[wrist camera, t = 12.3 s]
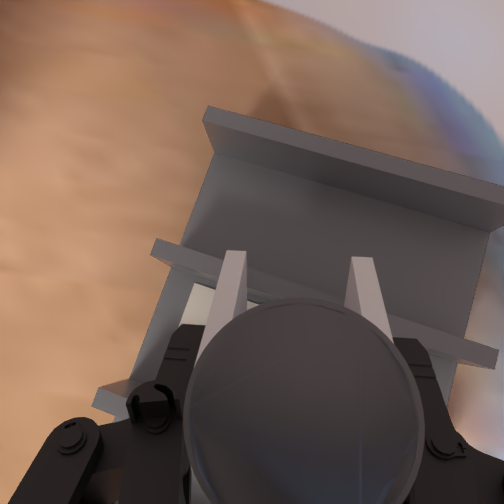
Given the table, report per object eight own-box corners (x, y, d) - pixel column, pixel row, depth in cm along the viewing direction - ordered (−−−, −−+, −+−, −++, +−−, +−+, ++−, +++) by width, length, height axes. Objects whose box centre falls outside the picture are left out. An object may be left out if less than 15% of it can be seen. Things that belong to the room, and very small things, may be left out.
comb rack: (82, 529, 21) (20, 589, 16) (225, 145, 24) (210, 98, 19) (370, 657, 19) (401, 771, 14) (481, 218, 22) (537, 186, 17)
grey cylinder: (233, 398, 19) (148, 496, 7) (261, 311, 19) (227, 269, 8) (321, 430, 18) (389, 596, 6) (347, 339, 19) (449, 339, 7)
